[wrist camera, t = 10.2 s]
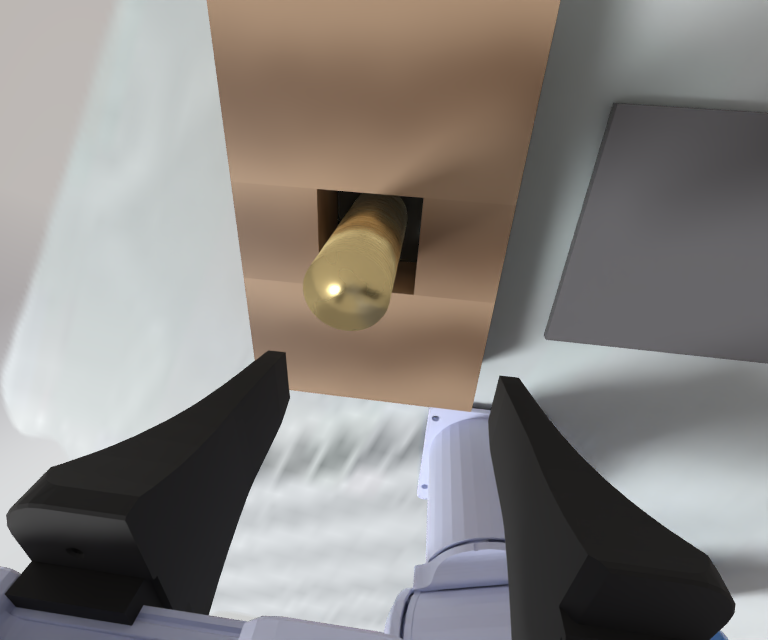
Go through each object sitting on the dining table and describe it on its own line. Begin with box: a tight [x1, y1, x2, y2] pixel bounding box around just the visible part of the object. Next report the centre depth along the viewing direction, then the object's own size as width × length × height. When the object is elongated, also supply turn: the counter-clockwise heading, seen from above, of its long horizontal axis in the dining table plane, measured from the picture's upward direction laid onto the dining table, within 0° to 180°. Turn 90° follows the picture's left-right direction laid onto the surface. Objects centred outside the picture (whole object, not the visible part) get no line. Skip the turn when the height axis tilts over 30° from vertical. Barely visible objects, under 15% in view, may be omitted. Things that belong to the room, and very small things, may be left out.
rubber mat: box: [544, 103, 768, 363], centre depth 20 cm, size 12×12×1 cm
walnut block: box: [207, 0, 561, 412], centre depth 20 cm, size 18×12×4 cm, turn 177°
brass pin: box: [303, 193, 408, 331], centre depth 18 cm, size 3×3×9 cm
